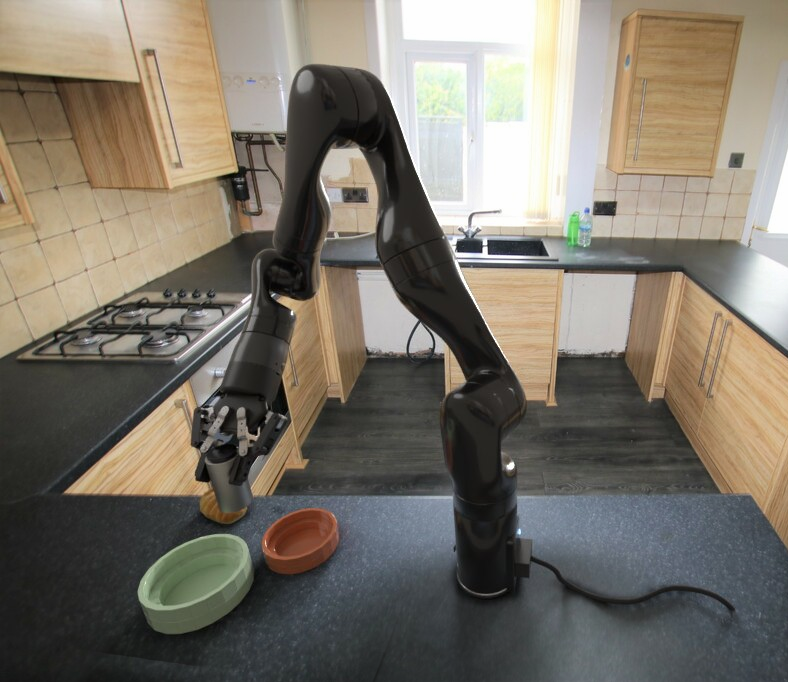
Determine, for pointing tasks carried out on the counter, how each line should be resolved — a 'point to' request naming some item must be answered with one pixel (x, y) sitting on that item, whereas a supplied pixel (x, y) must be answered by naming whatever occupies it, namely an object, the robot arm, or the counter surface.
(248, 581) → the bowl
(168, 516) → the counter surface
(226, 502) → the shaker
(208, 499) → the pastry
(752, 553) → the counter surface
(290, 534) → the bowl
